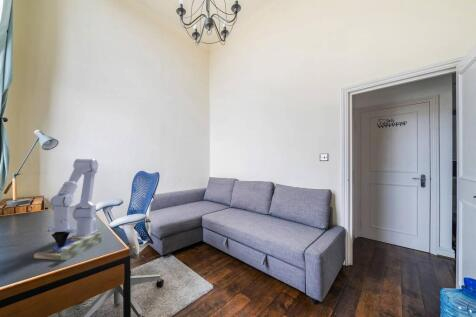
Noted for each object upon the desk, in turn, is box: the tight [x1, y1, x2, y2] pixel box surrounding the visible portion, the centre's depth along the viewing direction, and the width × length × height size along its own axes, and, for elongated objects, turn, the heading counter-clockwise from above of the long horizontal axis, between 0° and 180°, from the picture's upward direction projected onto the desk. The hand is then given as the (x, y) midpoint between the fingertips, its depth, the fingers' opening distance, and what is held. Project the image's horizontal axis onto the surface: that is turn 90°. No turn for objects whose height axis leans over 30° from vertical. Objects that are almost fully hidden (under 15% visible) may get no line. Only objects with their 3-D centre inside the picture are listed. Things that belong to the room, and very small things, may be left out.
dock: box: [33, 231, 102, 261], centre depth 95 cm, size 19×16×5 cm
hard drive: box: [52, 240, 76, 254], centre depth 96 cm, size 2×8×12 cm
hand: (61, 246), depth 95 cm, fingers closed
